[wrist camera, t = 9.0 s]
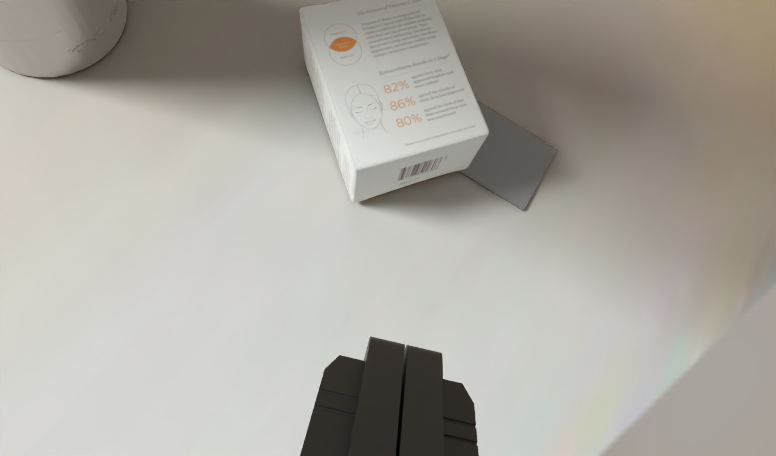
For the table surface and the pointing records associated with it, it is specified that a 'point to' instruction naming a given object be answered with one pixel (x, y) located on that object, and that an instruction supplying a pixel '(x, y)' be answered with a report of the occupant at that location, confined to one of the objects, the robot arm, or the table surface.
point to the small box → (390, 92)
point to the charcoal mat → (509, 160)
